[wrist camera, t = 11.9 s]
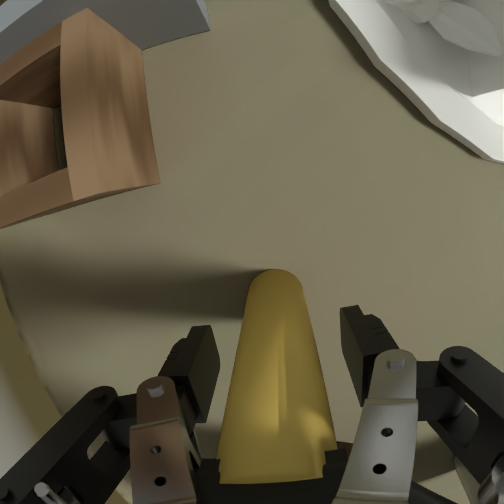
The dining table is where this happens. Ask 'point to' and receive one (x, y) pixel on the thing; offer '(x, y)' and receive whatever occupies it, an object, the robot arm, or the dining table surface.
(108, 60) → the brown wooden open box
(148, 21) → the wall
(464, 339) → the dining table surface
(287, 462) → the dowel
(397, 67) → the dish
